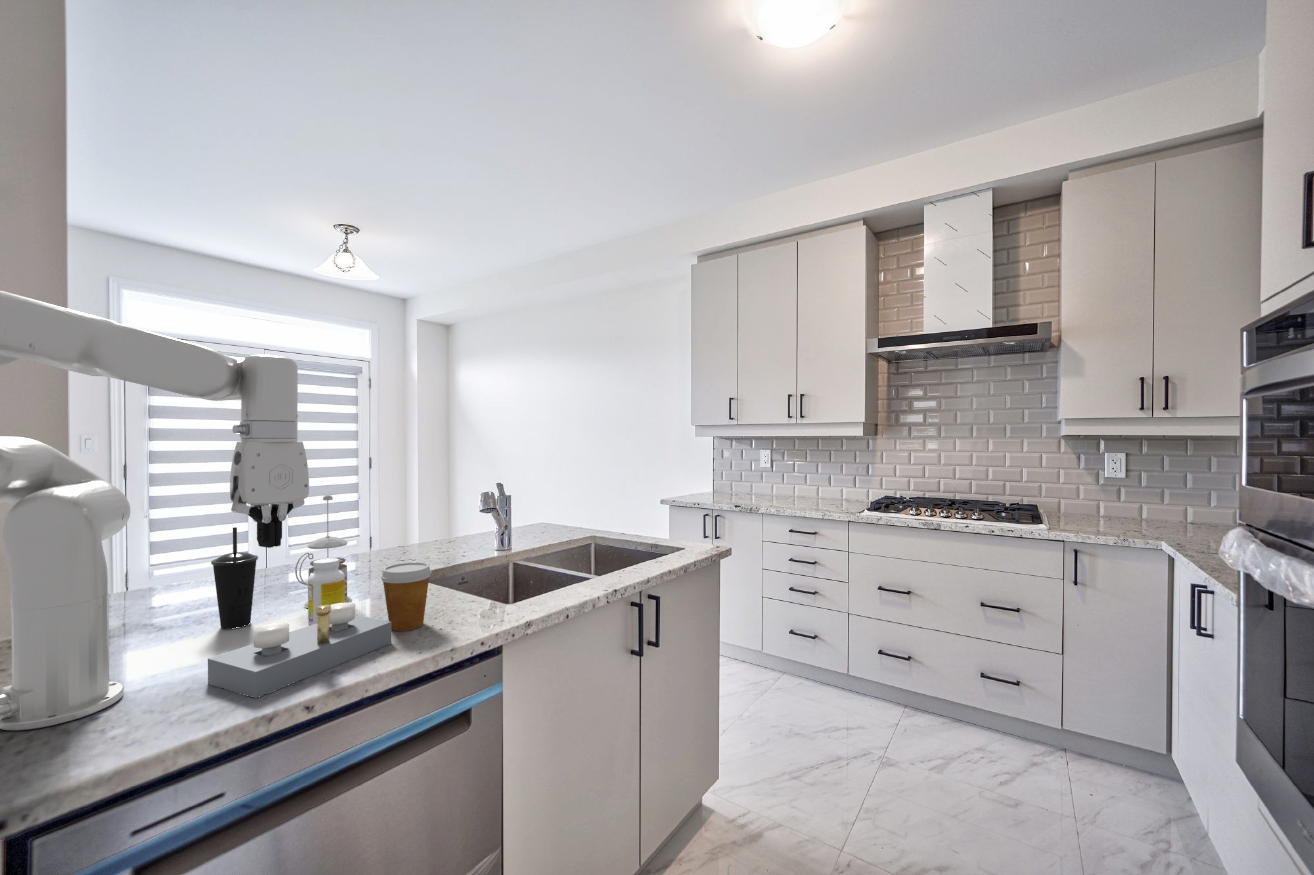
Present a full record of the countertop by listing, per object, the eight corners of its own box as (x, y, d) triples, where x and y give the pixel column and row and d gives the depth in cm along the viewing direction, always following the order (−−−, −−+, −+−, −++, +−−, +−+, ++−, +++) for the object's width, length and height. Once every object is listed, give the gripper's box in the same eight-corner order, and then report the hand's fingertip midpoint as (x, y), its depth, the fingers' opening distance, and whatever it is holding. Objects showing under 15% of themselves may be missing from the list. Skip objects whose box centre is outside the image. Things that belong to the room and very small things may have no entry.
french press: (361, 600, 131) (361, 494, 131) (309, 614, 121) (309, 499, 121) (337, 594, 136) (336, 491, 136) (285, 607, 126) (285, 496, 126)
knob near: (265, 678, 88) (265, 634, 88) (246, 672, 90) (246, 630, 90) (296, 666, 92) (295, 625, 92) (277, 661, 94) (277, 621, 94)
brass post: (321, 645, 93) (321, 609, 93) (312, 643, 94) (312, 607, 94) (333, 640, 95) (333, 605, 95) (325, 638, 96) (325, 604, 96)
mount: (255, 698, 83) (255, 671, 83) (207, 683, 88) (207, 658, 88) (391, 643, 105) (391, 621, 105) (347, 633, 110) (347, 613, 110)
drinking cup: (201, 630, 112) (200, 530, 111) (238, 617, 119) (237, 523, 119) (232, 633, 110) (231, 531, 110) (267, 620, 117) (267, 525, 117)
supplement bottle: (352, 617, 120) (352, 557, 120) (331, 628, 113) (330, 564, 113) (322, 616, 120) (322, 556, 120) (300, 626, 114) (299, 563, 114)
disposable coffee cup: (426, 615, 121) (425, 559, 121) (436, 628, 113) (436, 568, 113) (377, 623, 116) (376, 565, 116) (384, 637, 108) (384, 575, 108)
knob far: (336, 650, 99) (336, 612, 99) (318, 646, 101) (318, 608, 101) (360, 641, 103) (360, 604, 103) (342, 637, 105) (342, 601, 105)
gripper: (233, 432, 82) (232, 557, 82) (329, 433, 96) (328, 540, 96) (203, 432, 85) (203, 552, 86) (300, 432, 99) (300, 536, 99)
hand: (269, 545), depth 91 cm, fingers closed
